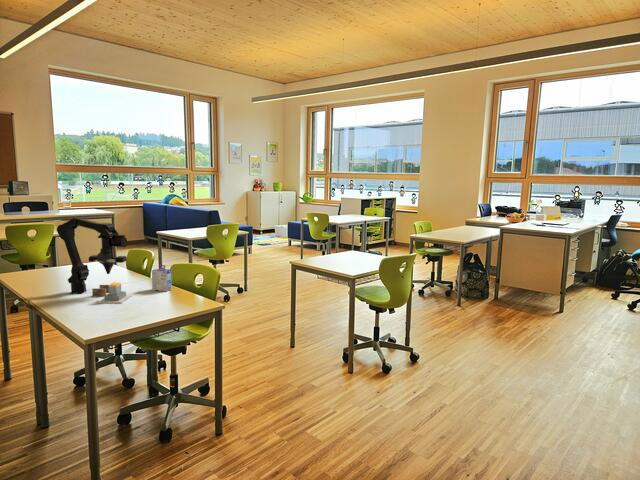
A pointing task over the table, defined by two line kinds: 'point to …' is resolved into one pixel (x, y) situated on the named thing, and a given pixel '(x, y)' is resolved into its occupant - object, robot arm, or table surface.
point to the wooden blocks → (100, 290)
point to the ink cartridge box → (161, 279)
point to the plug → (115, 289)
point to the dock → (115, 299)
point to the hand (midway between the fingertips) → (108, 273)
